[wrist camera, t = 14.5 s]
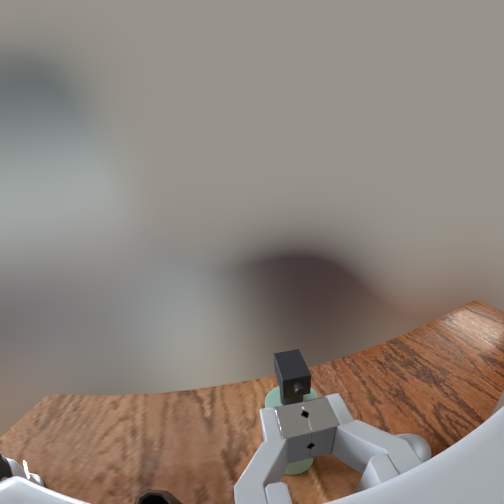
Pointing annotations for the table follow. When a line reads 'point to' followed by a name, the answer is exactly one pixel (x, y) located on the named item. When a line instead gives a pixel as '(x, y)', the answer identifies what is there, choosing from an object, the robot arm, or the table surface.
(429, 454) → the donut
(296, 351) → the spray bottle
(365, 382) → the table surface
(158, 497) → the beer bottle
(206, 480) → the table surface
